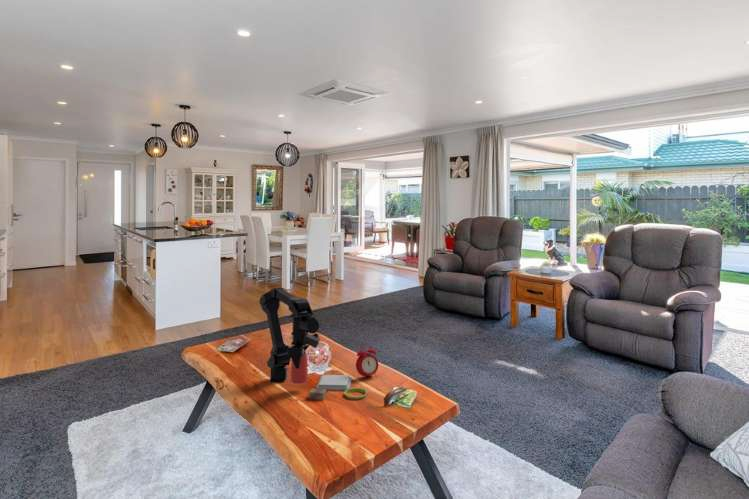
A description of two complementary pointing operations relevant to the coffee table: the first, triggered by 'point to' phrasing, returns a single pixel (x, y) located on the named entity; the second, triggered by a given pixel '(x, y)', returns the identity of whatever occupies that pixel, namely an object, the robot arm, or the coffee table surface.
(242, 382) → the coffee table surface
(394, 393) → the wallet with cash
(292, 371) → the beer can
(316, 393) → the metal block
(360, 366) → the alarm clock
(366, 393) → the olive green ring
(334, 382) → the stand
